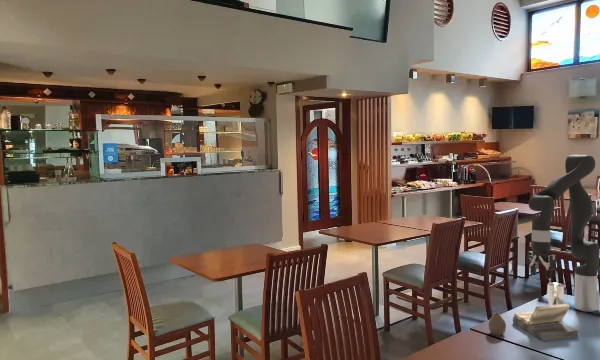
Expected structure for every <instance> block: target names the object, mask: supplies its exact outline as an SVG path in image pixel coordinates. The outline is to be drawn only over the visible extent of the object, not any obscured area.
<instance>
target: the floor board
mask: <svg viewBox="0 0 600 360" xmlns="http://www.w3.org/2000/svg"><path fill="white" fill-rule="evenodd" d="M533 312H534V311H526V312H518V313H517V312H515V313H514V314H513V317H512V323H513V324H514V325H515V326H517V327H518V328H520V329H522V330H523V331H526V332H527V333H529V334H530V335H532V336H534V337H535V338H537V339H539V340H541V341H542V342H549V341H550V342H551V341H558V340H560V341H561V340H568V339H576V338H579V330H578V329H576V328H574V327H572V326H570V325H568V324H566V323H564V322H562V321H557V322H548V323H539V324H530V323H529V320H530V318H531V316H532V314H533Z"/></svg>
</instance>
